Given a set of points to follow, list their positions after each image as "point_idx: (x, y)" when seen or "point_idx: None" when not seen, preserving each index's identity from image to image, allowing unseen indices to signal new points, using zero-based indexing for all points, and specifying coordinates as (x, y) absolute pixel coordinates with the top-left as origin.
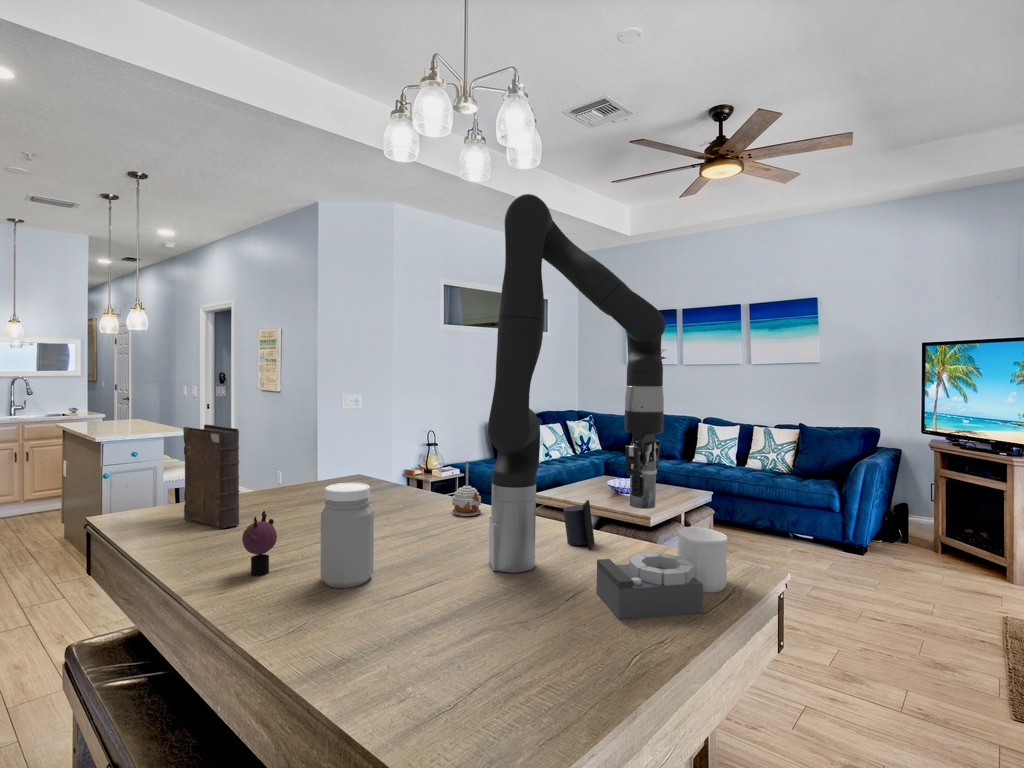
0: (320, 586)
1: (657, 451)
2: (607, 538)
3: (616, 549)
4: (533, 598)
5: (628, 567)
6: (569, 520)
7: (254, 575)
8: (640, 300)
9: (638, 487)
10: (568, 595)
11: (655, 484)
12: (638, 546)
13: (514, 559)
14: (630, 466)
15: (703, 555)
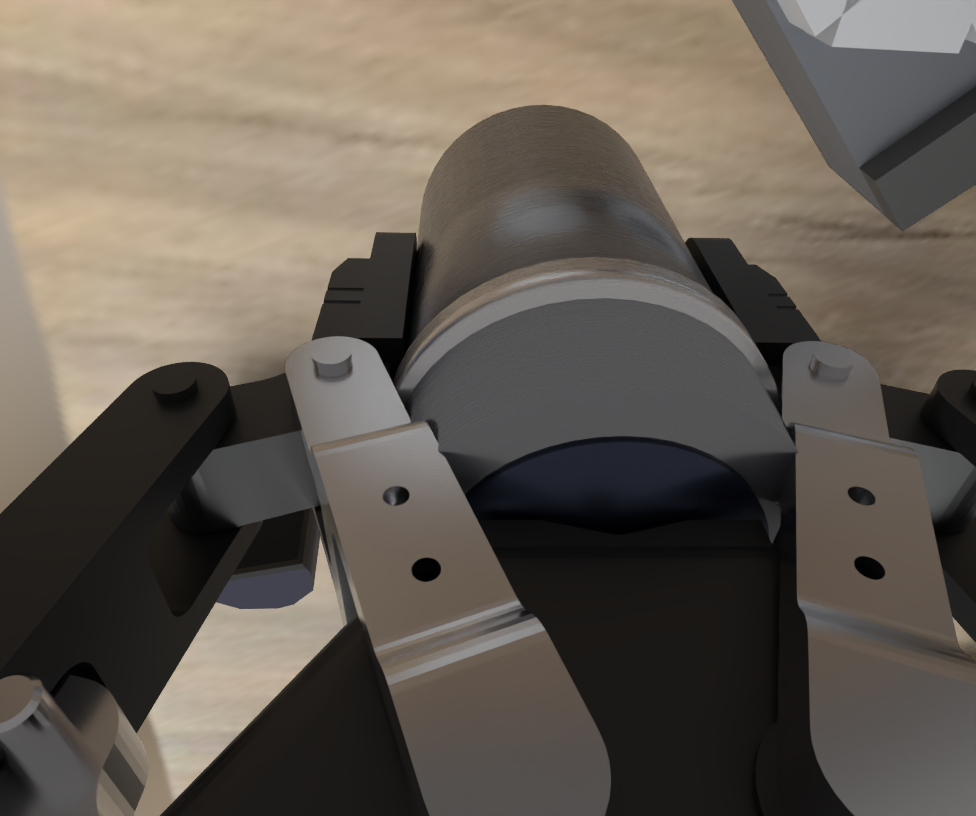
0: None
1: (60, 602)
2: (115, 387)
3: (228, 301)
4: (942, 334)
5: (867, 60)
6: (317, 544)
7: None
8: None
9: (795, 311)
10: (884, 249)
11: (552, 198)
12: (92, 232)
13: None
14: (949, 560)
15: None
